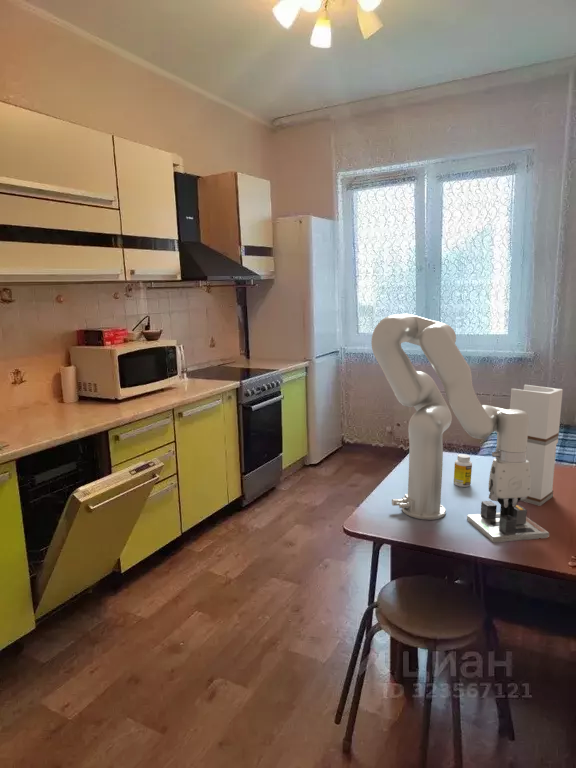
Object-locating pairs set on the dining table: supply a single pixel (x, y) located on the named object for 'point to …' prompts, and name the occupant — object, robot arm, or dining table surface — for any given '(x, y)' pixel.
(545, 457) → the tall open white box
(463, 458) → the supplement bottle
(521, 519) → the block
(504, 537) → the panel
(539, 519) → the dining table surface
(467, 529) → the dining table surface
